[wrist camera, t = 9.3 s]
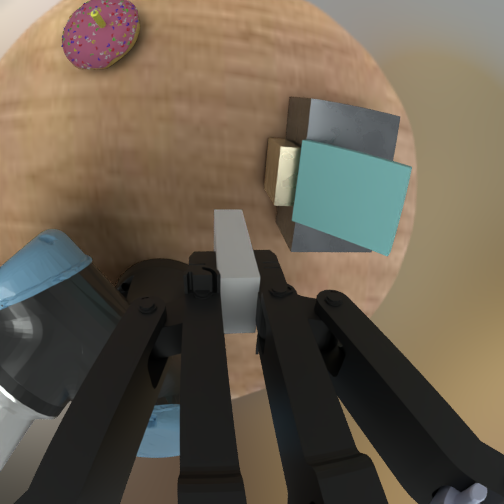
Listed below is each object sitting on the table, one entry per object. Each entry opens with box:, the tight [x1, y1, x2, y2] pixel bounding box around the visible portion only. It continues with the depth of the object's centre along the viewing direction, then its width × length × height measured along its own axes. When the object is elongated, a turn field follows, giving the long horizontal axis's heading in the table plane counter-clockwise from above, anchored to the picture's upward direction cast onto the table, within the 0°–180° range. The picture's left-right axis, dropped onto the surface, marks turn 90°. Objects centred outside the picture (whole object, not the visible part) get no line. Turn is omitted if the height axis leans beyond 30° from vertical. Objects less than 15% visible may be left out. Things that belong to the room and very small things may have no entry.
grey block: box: [276, 97, 400, 252], centre depth 33 cm, size 10×16×8 cm, turn 175°
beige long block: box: [264, 138, 301, 206], centre depth 33 cm, size 15×6×6 cm, turn 85°
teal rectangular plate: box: [292, 140, 412, 256], centre depth 26 cm, size 10×8×1 cm
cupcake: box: [61, 0, 140, 69], centre depth 21 cm, size 9×8×12 cm
